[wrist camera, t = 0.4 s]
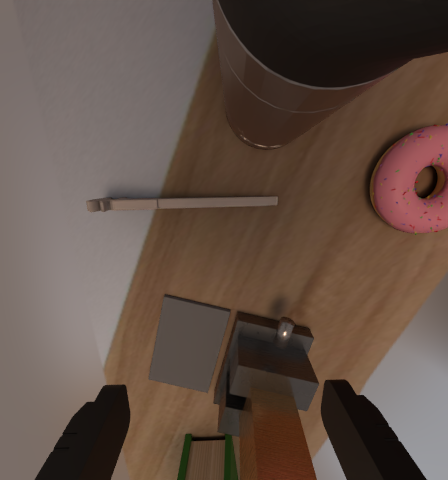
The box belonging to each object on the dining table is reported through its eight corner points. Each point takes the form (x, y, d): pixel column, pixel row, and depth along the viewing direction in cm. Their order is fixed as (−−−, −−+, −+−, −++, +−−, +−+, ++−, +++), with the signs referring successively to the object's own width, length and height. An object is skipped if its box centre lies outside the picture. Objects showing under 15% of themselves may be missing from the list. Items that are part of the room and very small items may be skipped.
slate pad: (165, 294, 30) (163, 296, 30) (230, 309, 30) (230, 312, 30) (149, 375, 34) (148, 379, 33) (208, 389, 34) (207, 392, 33)
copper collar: (250, 387, 25) (257, 480, 17) (294, 397, 25) (320, 494, 17) (239, 420, 26) (241, 520, 18) (280, 429, 26) (300, 533, 19)
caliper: (110, 206, 28) (75, 213, 22) (108, 197, 28) (73, 201, 21) (277, 204, 27) (289, 211, 21) (277, 195, 27) (290, 200, 21)
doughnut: (344, 210, 27) (364, 215, 23) (395, 113, 24) (428, 99, 20) (426, 242, 27) (460, 253, 23) (485, 151, 24) (535, 145, 20)
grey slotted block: (243, 291, 30) (249, 374, 17) (316, 309, 30) (376, 403, 17) (214, 390, 34) (203, 513, 22) (278, 405, 34) (304, 535, 22)
